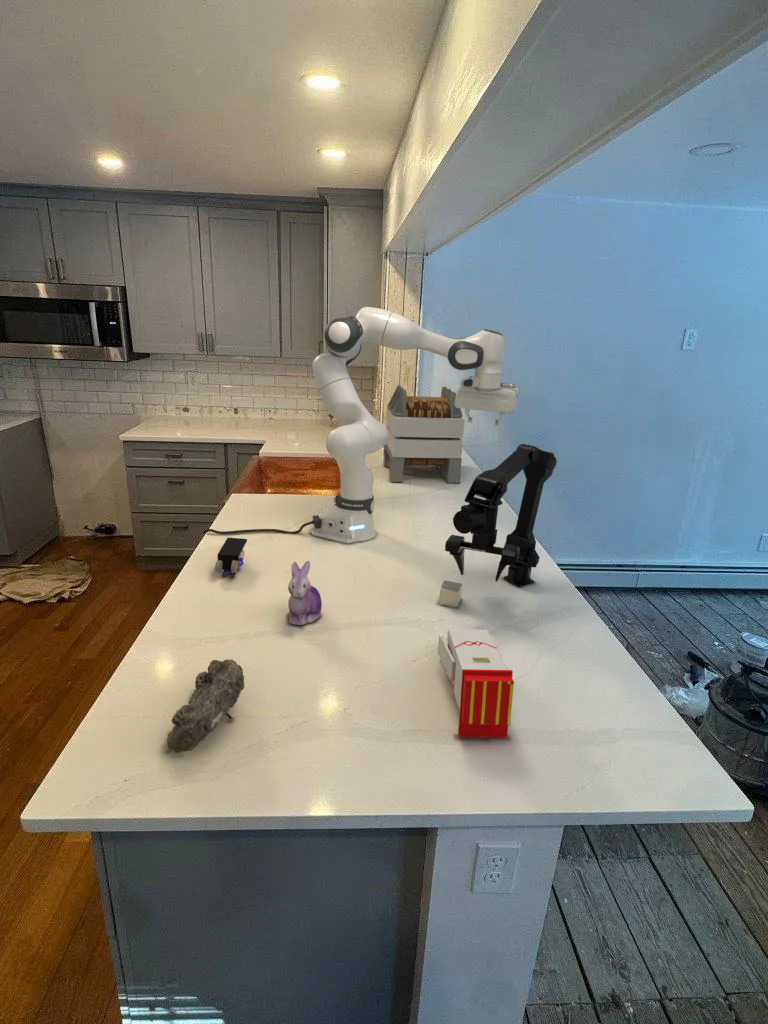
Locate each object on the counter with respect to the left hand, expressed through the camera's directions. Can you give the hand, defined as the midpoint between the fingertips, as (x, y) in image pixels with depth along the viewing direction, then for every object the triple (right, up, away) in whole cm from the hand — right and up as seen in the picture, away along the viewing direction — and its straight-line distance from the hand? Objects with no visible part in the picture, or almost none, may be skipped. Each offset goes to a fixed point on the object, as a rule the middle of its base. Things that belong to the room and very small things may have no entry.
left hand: (483, 423), depth 190 cm
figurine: (-53, -56, -46) cm, 90 cm away
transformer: (-16, -11, +85) cm, 87 cm away
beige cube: (-15, -54, -35) cm, 66 cm away
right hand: (-8, -47, -39) cm, 62 cm away
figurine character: (-78, -47, -22) cm, 94 cm away
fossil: (-66, -69, -82) cm, 126 cm away
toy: (-15, -67, -72) cm, 99 cm away
